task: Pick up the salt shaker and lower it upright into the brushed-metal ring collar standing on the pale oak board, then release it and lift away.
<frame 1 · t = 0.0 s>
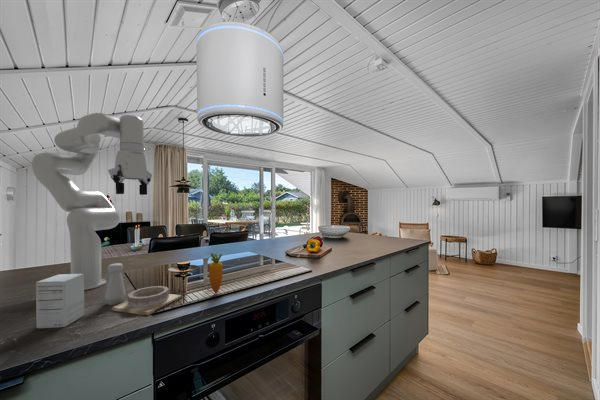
hand: (132, 194, 97), 37 cm above the counter, tool pointing down, fingers open, 9 cm apart
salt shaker: (115, 303, 86), on the counter
ring holder: (148, 303, 84), on the counter
carrot: (216, 294, 93), on the counter
supplement box: (61, 322, 72), on the counter
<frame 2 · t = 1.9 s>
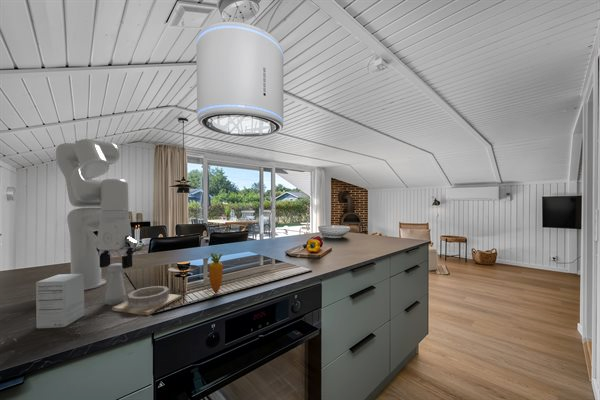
hand: (116, 267, 85), 12 cm above the counter, tool pointing down, fingers open, 9 cm apart
nothing on the counter moved.
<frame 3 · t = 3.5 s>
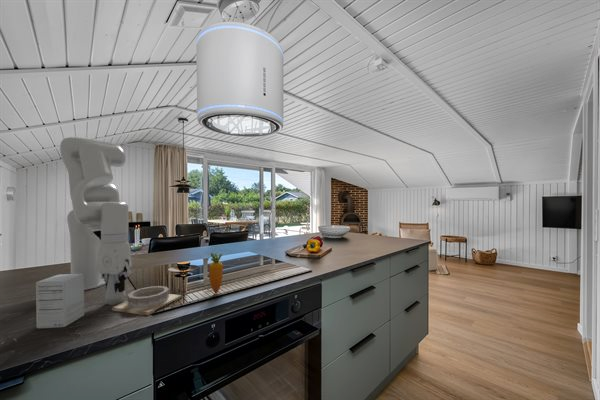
hand: (115, 293, 86), 3 cm above the counter, tool pointing down, fingers closed on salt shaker, 3 cm apart
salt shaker: (115, 303, 86), on the counter, touching gripper
everything else where it was.
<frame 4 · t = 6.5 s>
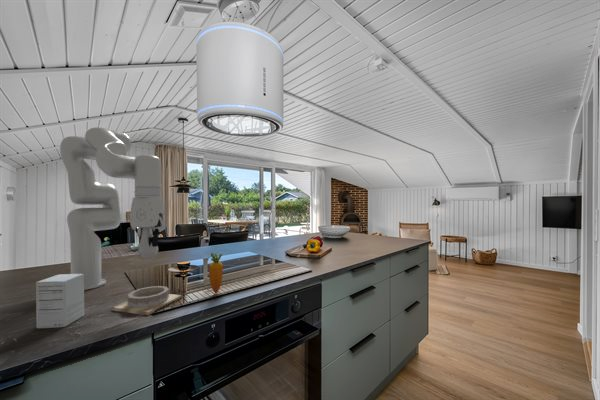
hand: (148, 248, 84), 18 cm above the counter, tool pointing down, fingers closed on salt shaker, 3 cm apart
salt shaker: (148, 258, 84), point 15 cm above the counter, touching gripper
everything else where it was.
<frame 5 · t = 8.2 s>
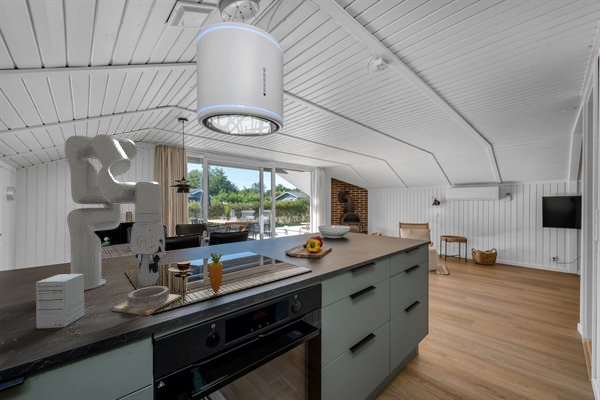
hand: (148, 274, 84), 10 cm above the counter, tool pointing down, fingers closed on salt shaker, 3 cm apart
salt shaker: (148, 284, 84), point 6 cm above the counter, touching gripper
everything else where it was.
when the fingers open (6 cm above the counter, at t = 9.6 s): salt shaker drops 1 cm, resting on ring holder.
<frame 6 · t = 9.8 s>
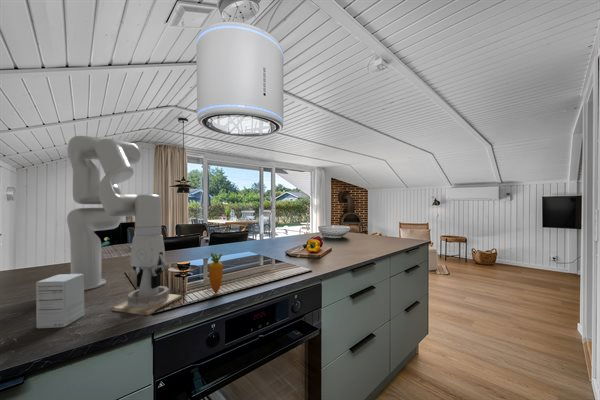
hand: (148, 285, 84), 6 cm above the counter, tool pointing down, fingers open, 5 cm apart
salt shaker: (148, 301, 84), point 1 cm above the counter, touching ring holder
everything else where it was.
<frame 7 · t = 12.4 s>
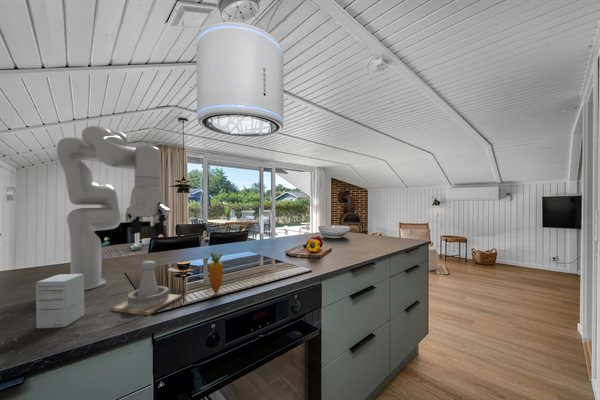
hand: (147, 233, 86), 23 cm above the counter, tool pointing down, fingers open, 9 cm apart
nothing on the counter moved.
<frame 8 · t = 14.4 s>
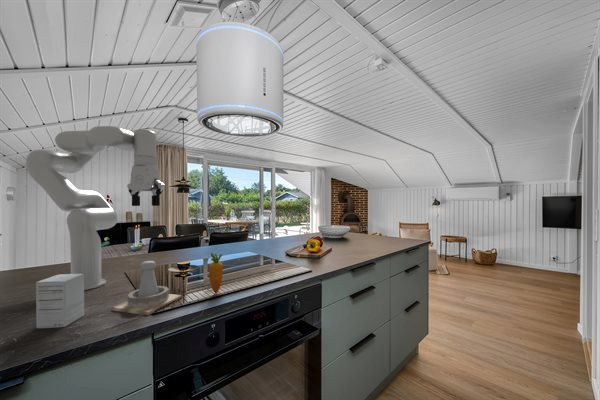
hand: (145, 205, 100), 32 cm above the counter, tool pointing down, fingers open, 9 cm apart
nothing on the counter moved.
at the end: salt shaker 0.2 cm off-centre on the ring holder, point 0.8 cm above the ring holder's base; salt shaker tilted 0°; the gripper is holding nothing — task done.
